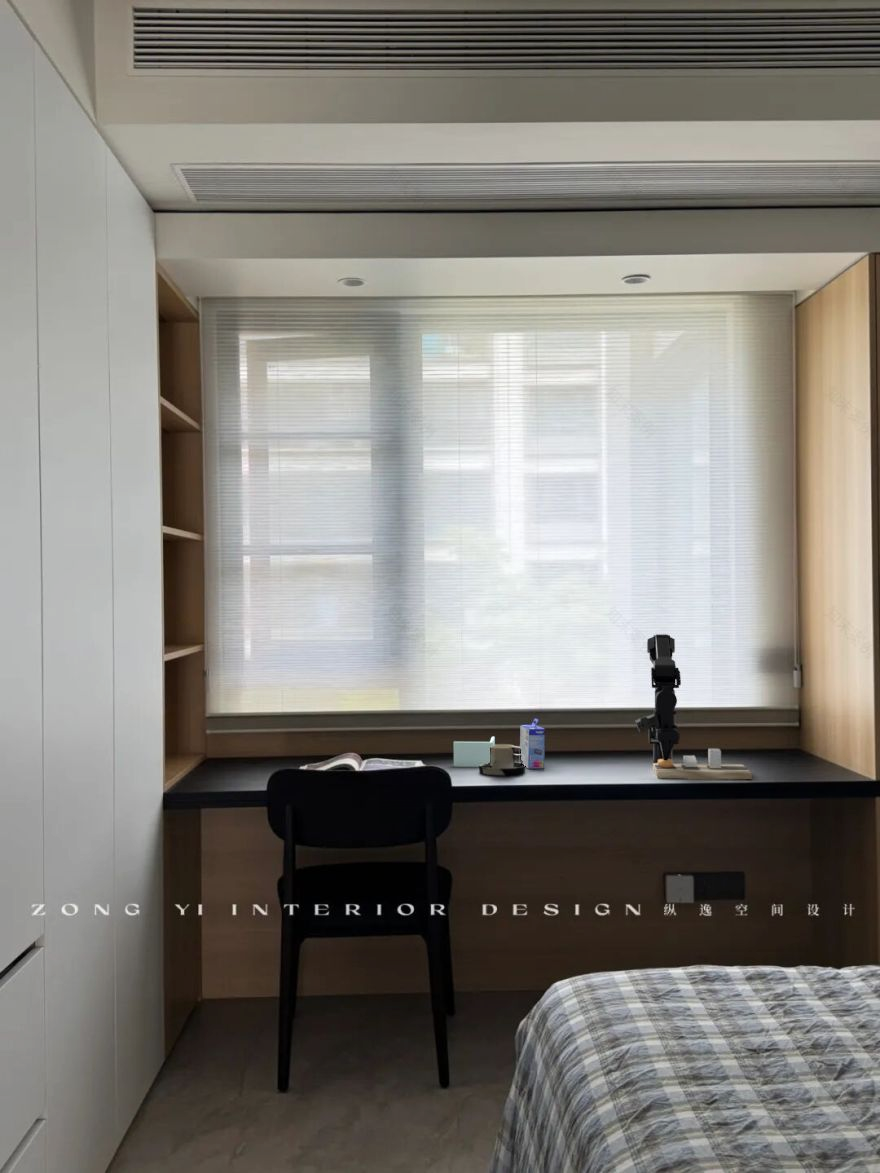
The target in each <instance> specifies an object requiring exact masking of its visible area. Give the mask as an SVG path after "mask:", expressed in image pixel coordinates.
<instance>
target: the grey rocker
mask: <svg viewBox="0 0 880 1173" xmlns="http://www.w3.org/2000/svg"><path fill="white" fill-rule="evenodd" d="M682 756H683V759H682V761H683V763H684V764H685V766H686V767H697V764H698V760H697V758H696V756H695V755H682Z"/></svg>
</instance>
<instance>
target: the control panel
mask: <svg viewBox="0 0 880 1173" xmlns="http://www.w3.org/2000/svg"><path fill="white" fill-rule="evenodd" d="M653 770H654V771H653ZM652 771H653V772H655V773H654V774H656V775H655V776H657V777H656V779H657V778H688V779H687V780H718V779H752V780H753V778H752V776H753V775H752V772H751V771H750V770H749V768H748V767H747V766H746V765H744V764H743V763H721V768H710V767H709V766H708V763H697V767H686V766H685V764H684V762H682V763H681V762H679V763H678V762H677V763H676V762H674V763H673V767H669V768H664V767H658V763H652Z"/></svg>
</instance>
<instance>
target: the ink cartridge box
mask: <svg viewBox="0 0 880 1173" xmlns="http://www.w3.org/2000/svg"><path fill="white" fill-rule="evenodd" d="M539 721H540V720H539V719H538V718H534V719H533V721H532V723H531V724H521V725H520V730H519V731H520V733H519V734H520V735H519V736H520V737H519V742H520V743H519V750H520V749H521V760H522V761H523V763H524V764H525V766H526V767H525V766H524V767H525V768H526V769H530V770H534V769H535V770H536V769H539V770H541V769H545V745H546V744H545V742H546V741H545V737H546V735H545V733H546V732H545V731H546V728H544V727H541V726H539V725H538V723H539Z"/></svg>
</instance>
